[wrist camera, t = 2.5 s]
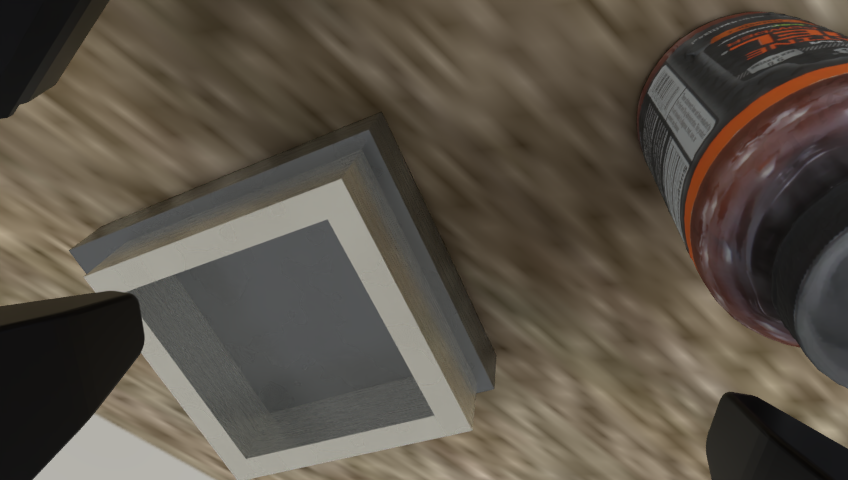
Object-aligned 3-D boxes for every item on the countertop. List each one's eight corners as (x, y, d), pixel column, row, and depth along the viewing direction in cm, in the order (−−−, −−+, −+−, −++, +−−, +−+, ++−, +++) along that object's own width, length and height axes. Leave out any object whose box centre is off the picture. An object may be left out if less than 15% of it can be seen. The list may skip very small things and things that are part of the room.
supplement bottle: (857, -1, 17) (1299, 110, 7) (812, 192, 20) (1092, 460, 10) (639, 12, 18) (774, 126, 8) (624, 194, 21) (713, 441, 11)
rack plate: (381, 111, 21) (348, 157, 17) (496, 355, 25) (491, 437, 21) (100, 227, 25) (21, 285, 21) (239, 421, 29) (195, 500, 25)
